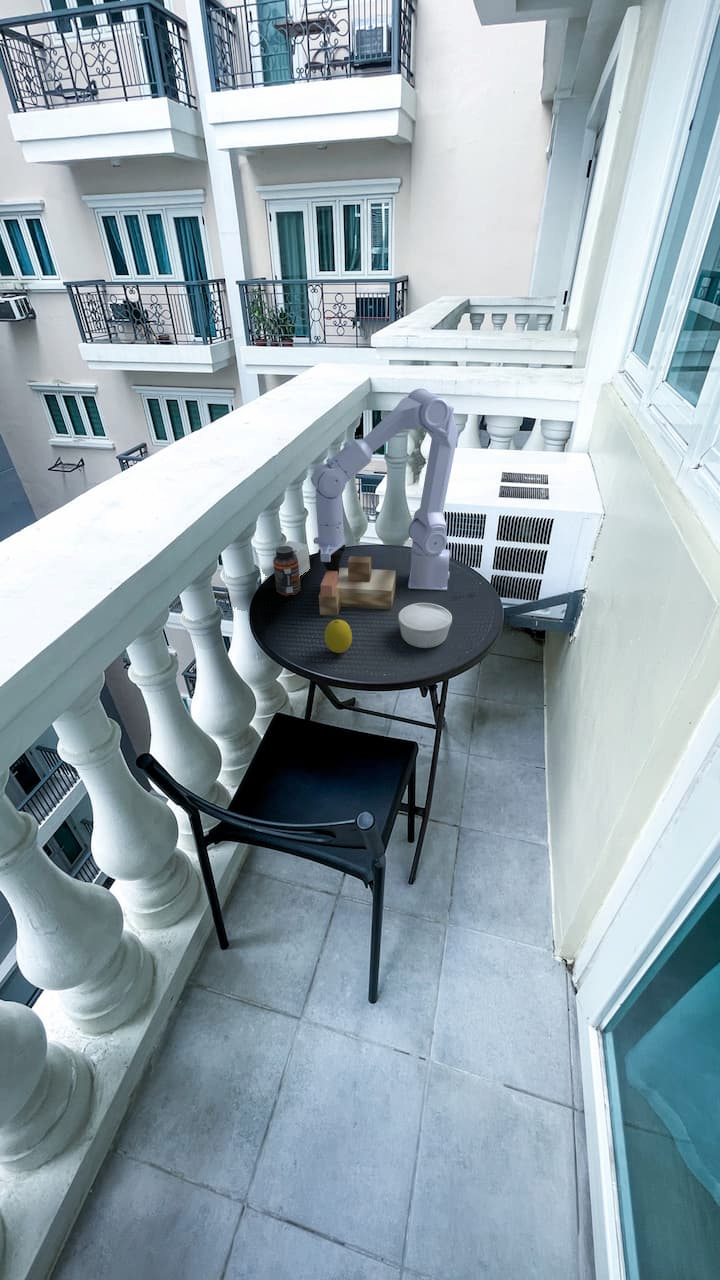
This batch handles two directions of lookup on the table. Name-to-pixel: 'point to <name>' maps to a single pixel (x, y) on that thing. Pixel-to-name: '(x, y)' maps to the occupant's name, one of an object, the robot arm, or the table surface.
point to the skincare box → (300, 555)
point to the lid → (365, 577)
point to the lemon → (338, 636)
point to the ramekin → (424, 624)
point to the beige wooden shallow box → (354, 601)
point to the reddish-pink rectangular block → (329, 583)
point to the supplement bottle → (286, 571)
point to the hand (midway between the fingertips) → (333, 576)
